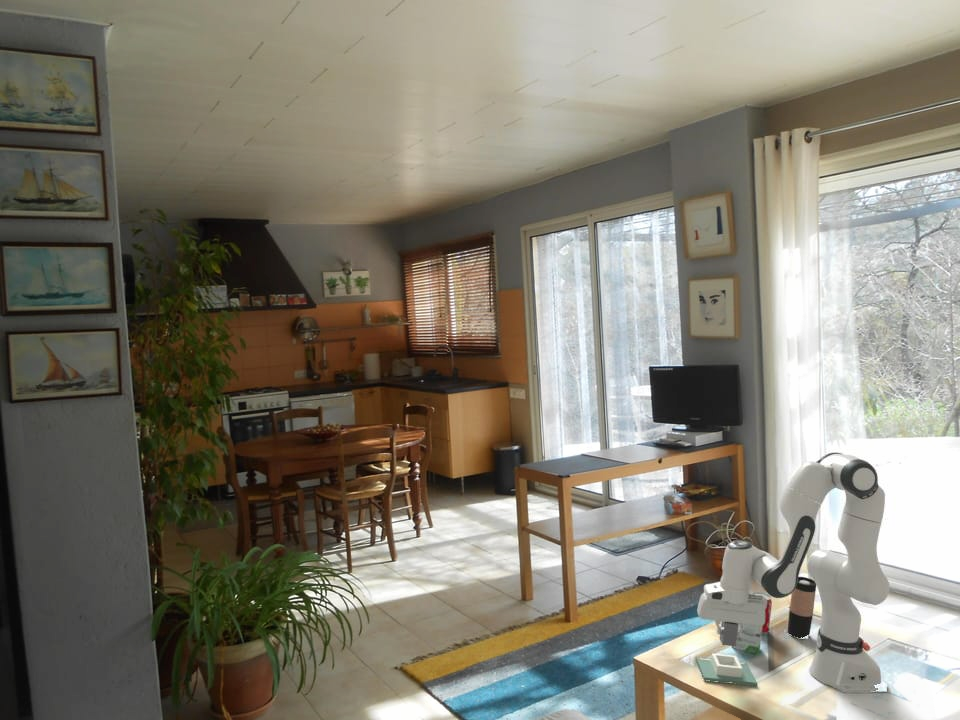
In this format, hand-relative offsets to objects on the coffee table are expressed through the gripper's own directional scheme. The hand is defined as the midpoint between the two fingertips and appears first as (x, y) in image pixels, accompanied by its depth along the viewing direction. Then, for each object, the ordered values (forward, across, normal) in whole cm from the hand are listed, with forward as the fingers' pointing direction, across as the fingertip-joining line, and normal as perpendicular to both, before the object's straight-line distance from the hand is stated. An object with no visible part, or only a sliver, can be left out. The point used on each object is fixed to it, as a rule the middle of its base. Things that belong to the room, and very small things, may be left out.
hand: (728, 634), depth 233 cm
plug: (+3, 0, 0) cm, 3 cm away
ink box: (+13, -12, -18) cm, 25 cm away
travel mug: (+12, -34, -32) cm, 48 cm away
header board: (+13, -1, 0) cm, 13 cm away
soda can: (+12, -20, -32) cm, 40 cm away
